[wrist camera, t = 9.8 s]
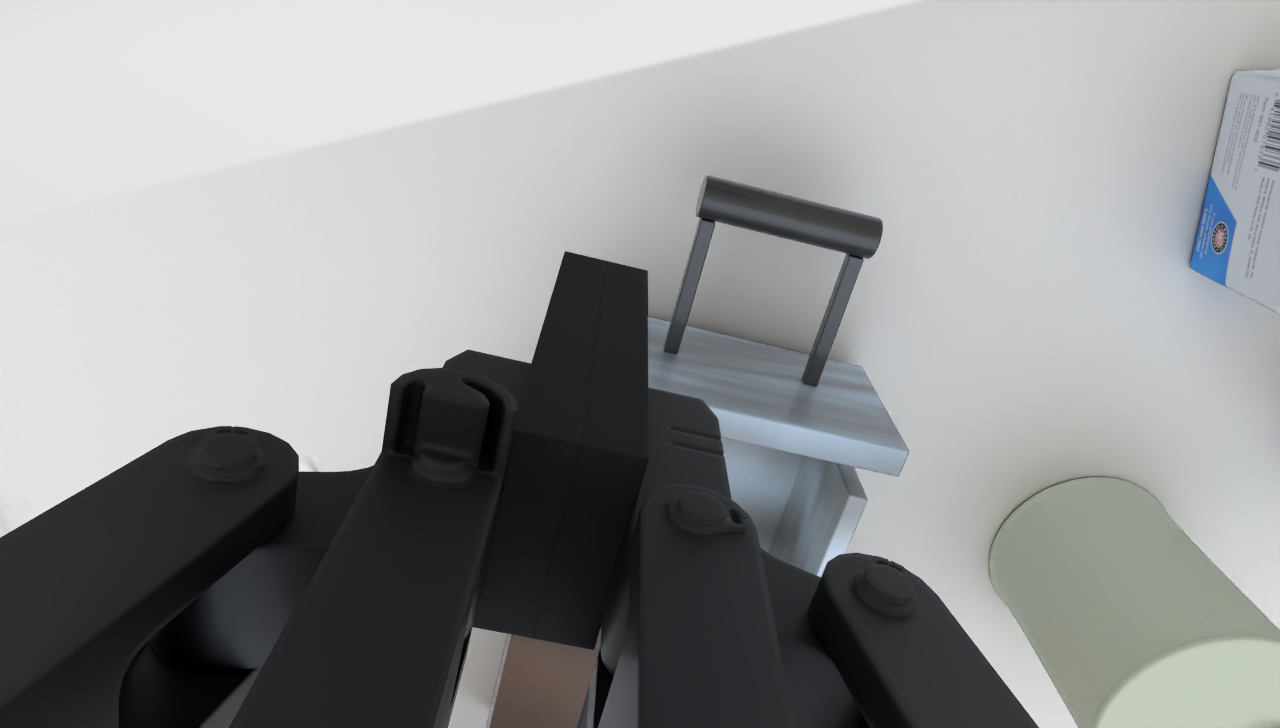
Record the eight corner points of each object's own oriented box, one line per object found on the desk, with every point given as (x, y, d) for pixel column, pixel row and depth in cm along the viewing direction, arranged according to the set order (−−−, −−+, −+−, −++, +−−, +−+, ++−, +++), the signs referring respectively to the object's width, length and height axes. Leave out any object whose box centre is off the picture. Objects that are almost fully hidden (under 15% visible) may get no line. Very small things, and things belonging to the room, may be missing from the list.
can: (1126, 633, 47) (1274, 833, 36) (963, 608, 46) (1063, 805, 35) (1200, 491, 43) (1390, 665, 32) (1024, 462, 42) (1157, 631, 31)
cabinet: (542, 483, 43) (516, 612, 34) (801, 538, 44) (839, 675, 35) (489, 709, 49) (456, 867, 40) (717, 751, 50) (732, 913, 42)
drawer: (638, 142, 35) (636, 183, 28) (921, 213, 36) (989, 270, 29) (536, 563, 44) (515, 675, 37) (768, 610, 45) (791, 728, 38)
